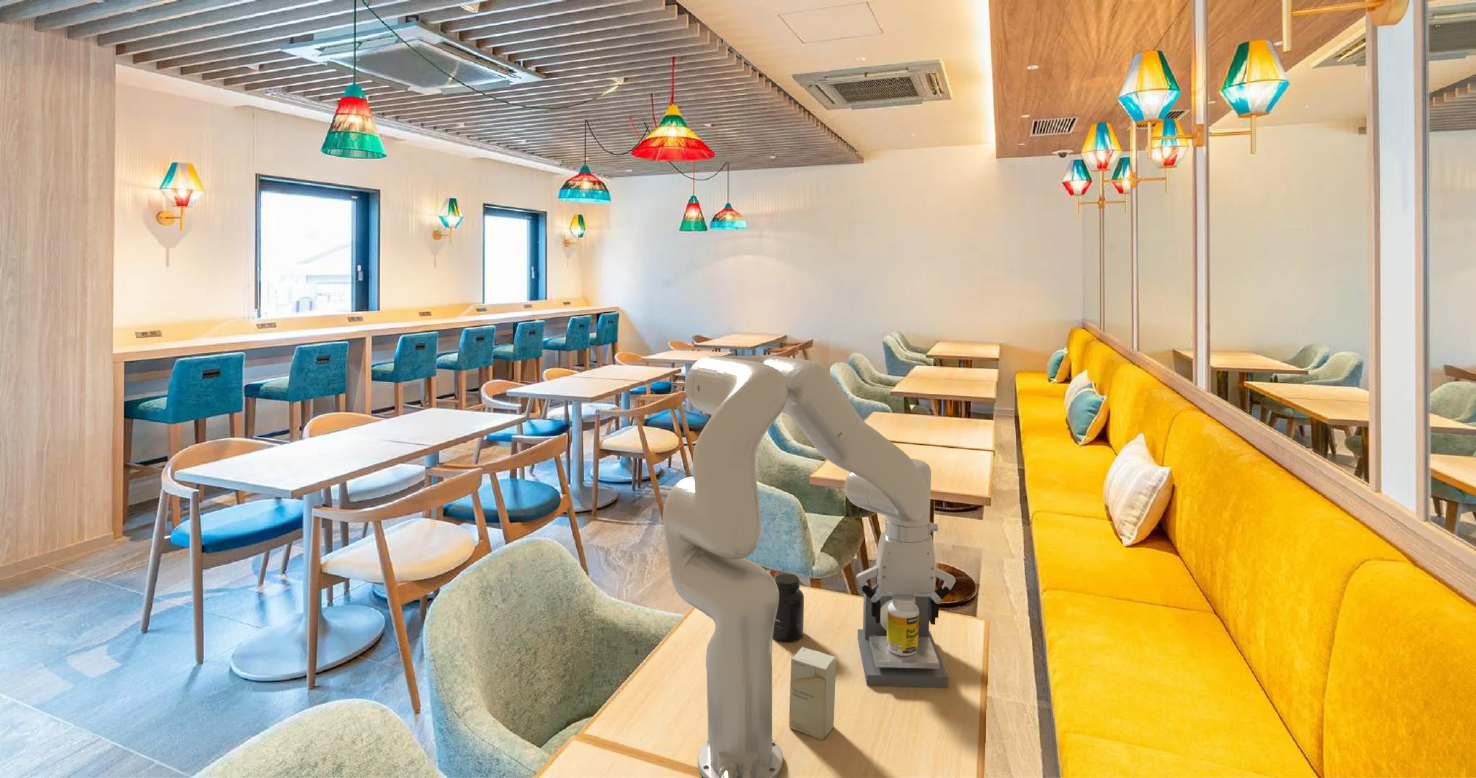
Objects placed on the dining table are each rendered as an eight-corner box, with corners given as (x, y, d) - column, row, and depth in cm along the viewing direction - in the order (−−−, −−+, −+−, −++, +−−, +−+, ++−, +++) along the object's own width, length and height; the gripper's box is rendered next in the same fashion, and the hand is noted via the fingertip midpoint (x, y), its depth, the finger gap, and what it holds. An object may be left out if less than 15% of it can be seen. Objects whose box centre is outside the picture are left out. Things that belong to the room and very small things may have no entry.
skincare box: (788, 728, 114) (788, 658, 112) (800, 713, 118) (801, 645, 116) (824, 741, 111) (825, 669, 109) (836, 725, 114) (837, 655, 112)
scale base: (947, 687, 124) (950, 628, 123) (866, 685, 125) (868, 627, 123) (929, 640, 140) (931, 587, 138) (857, 638, 141) (858, 586, 139)
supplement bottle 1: (765, 640, 141) (765, 583, 139) (774, 623, 147) (774, 569, 145) (799, 645, 139) (800, 587, 137) (806, 628, 145) (807, 573, 143)
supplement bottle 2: (906, 660, 125) (908, 606, 123) (880, 649, 129) (881, 596, 127) (924, 649, 129) (925, 596, 127) (897, 637, 133) (899, 586, 131)
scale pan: (939, 673, 125) (939, 663, 124) (875, 672, 125) (875, 661, 125) (928, 646, 133) (929, 636, 133) (869, 645, 134) (869, 635, 134)
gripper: (952, 522, 128) (948, 611, 131) (855, 521, 129) (853, 609, 132) (962, 538, 121) (958, 632, 124) (859, 536, 122) (857, 629, 125)
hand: (904, 620), depth 128 cm, fingers open, 9 cm apart
